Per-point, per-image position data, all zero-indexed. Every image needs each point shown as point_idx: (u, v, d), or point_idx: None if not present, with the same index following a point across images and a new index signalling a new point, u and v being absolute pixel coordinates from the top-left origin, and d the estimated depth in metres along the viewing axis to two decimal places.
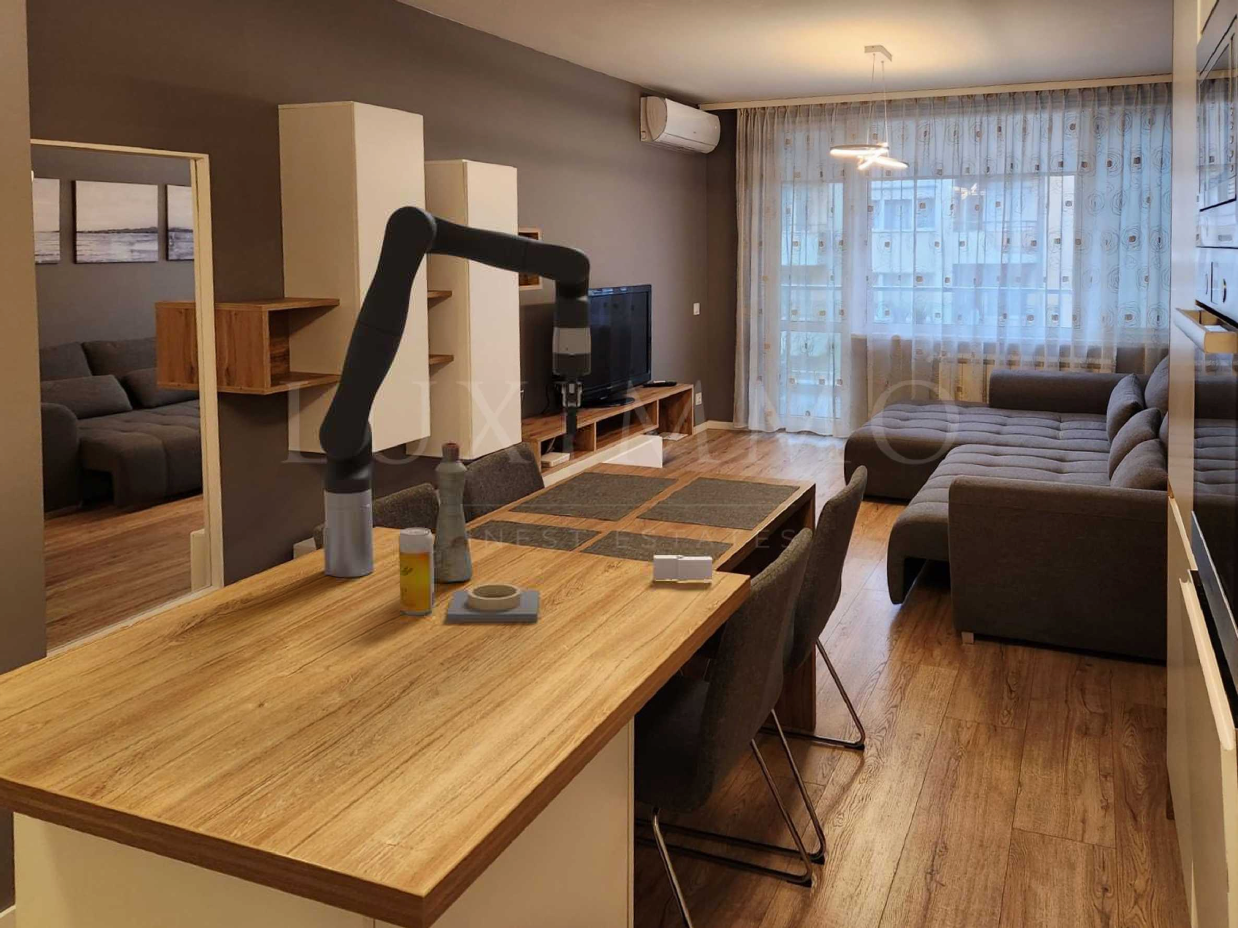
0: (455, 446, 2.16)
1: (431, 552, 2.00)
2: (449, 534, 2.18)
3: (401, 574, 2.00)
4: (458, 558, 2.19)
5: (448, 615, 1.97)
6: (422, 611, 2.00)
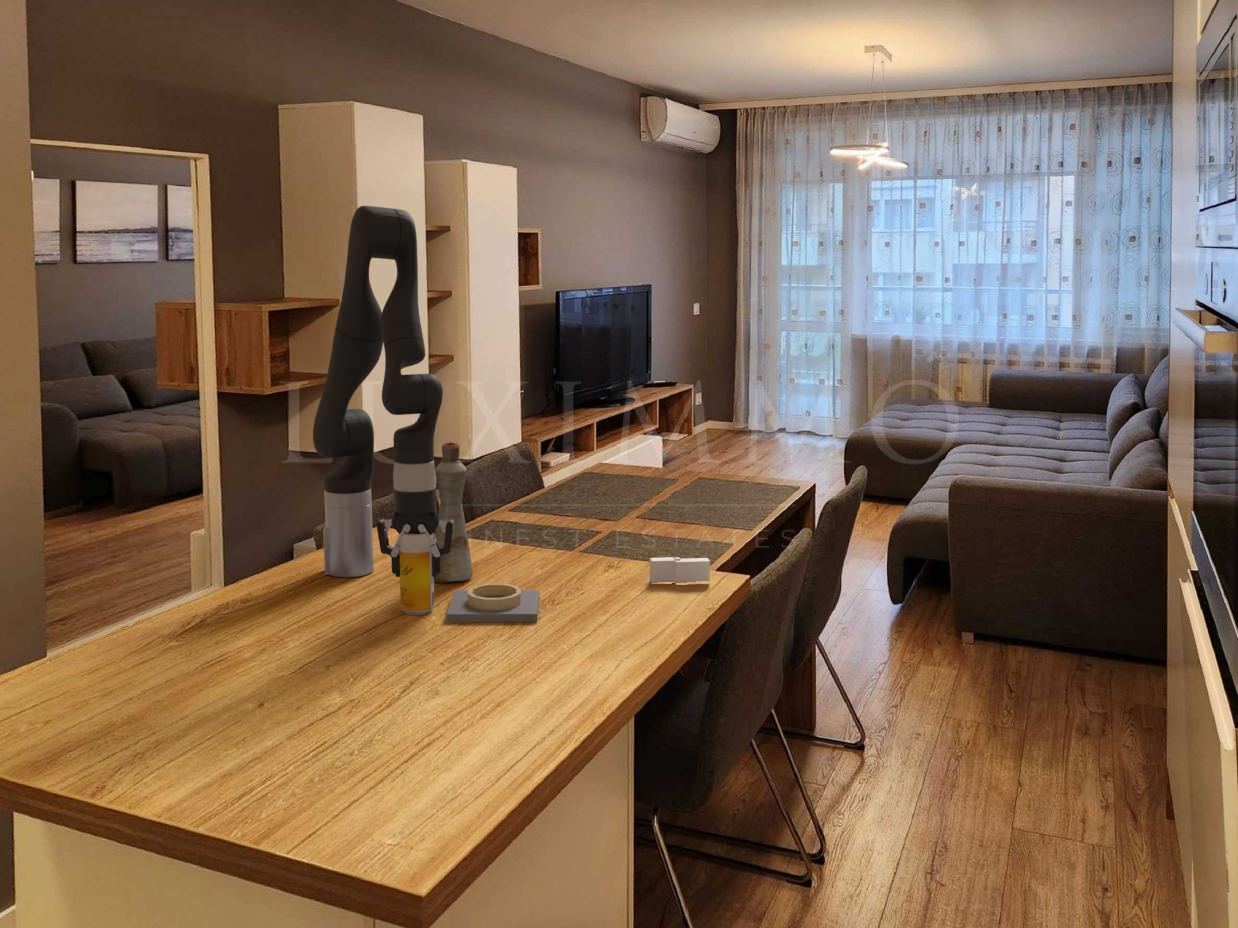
0: (455, 446, 2.16)
1: (431, 552, 2.00)
2: None
3: (401, 574, 2.00)
4: (458, 558, 2.19)
5: (448, 615, 1.97)
6: (422, 611, 2.00)
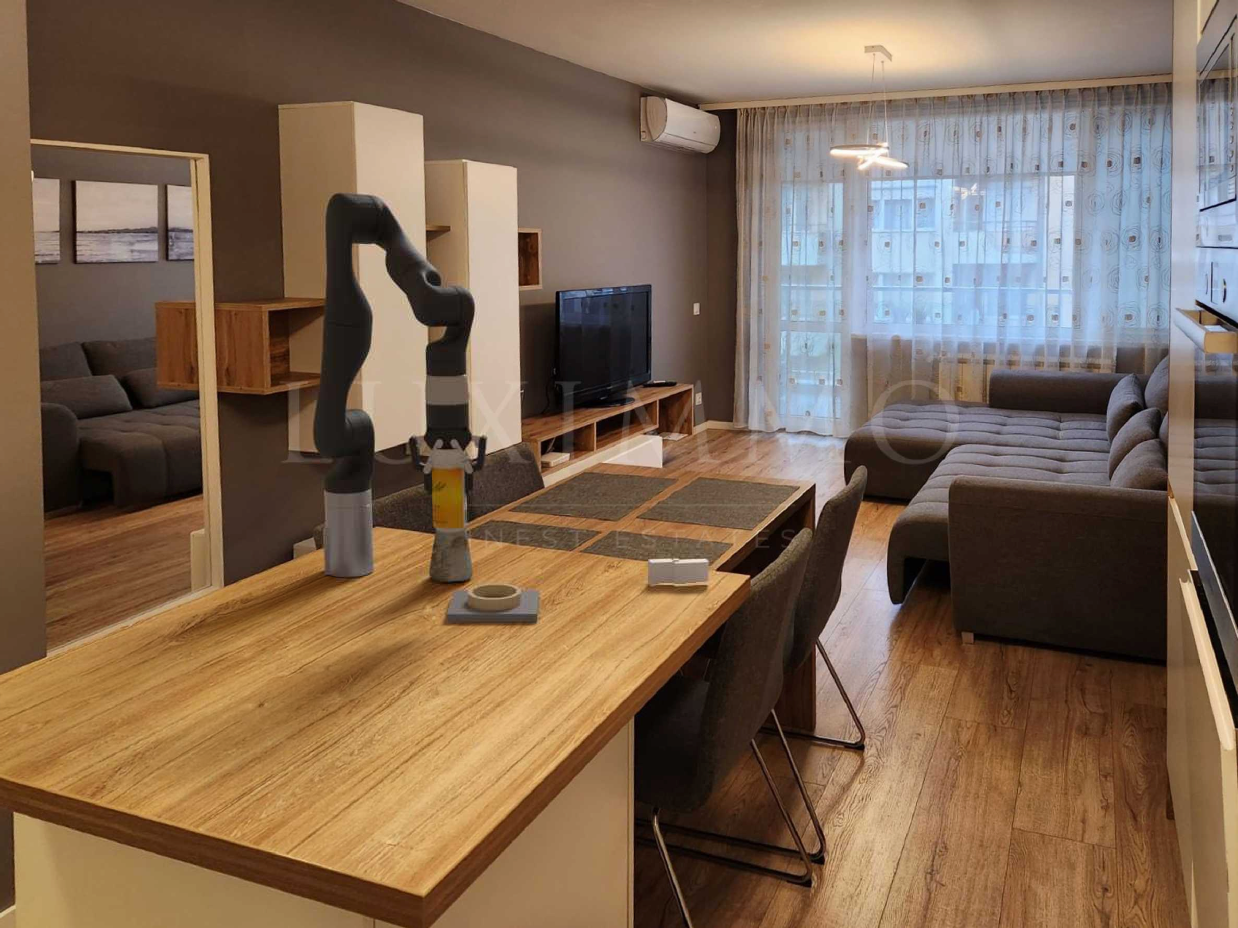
0: None
1: (464, 468, 1.97)
2: (449, 534, 2.18)
3: (433, 491, 1.97)
4: (458, 558, 2.19)
5: (448, 615, 1.97)
6: (455, 529, 1.97)
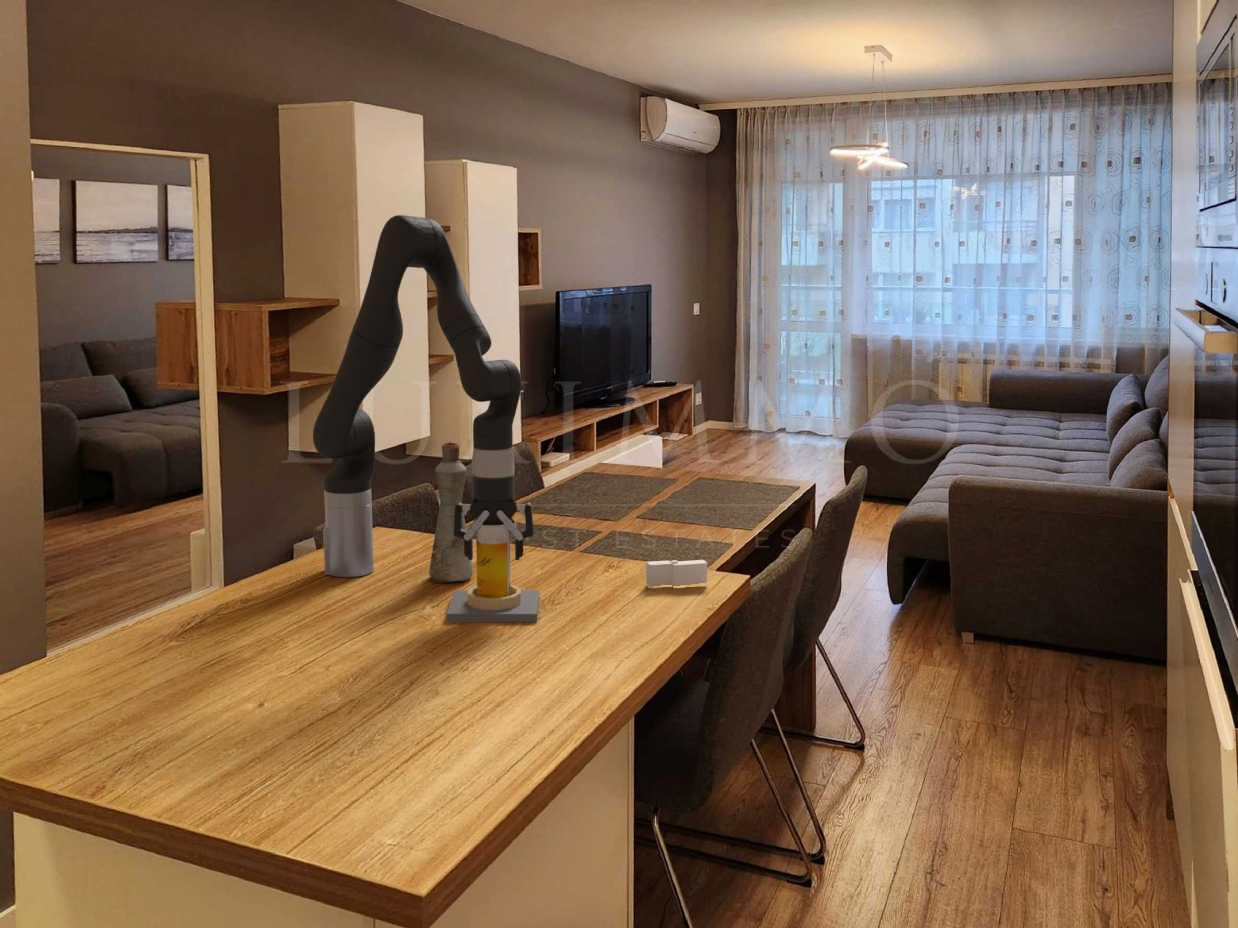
0: (455, 446, 2.16)
1: (508, 543, 2.01)
2: (449, 534, 2.18)
3: (478, 565, 2.01)
4: (458, 558, 2.19)
5: (448, 615, 1.97)
6: None
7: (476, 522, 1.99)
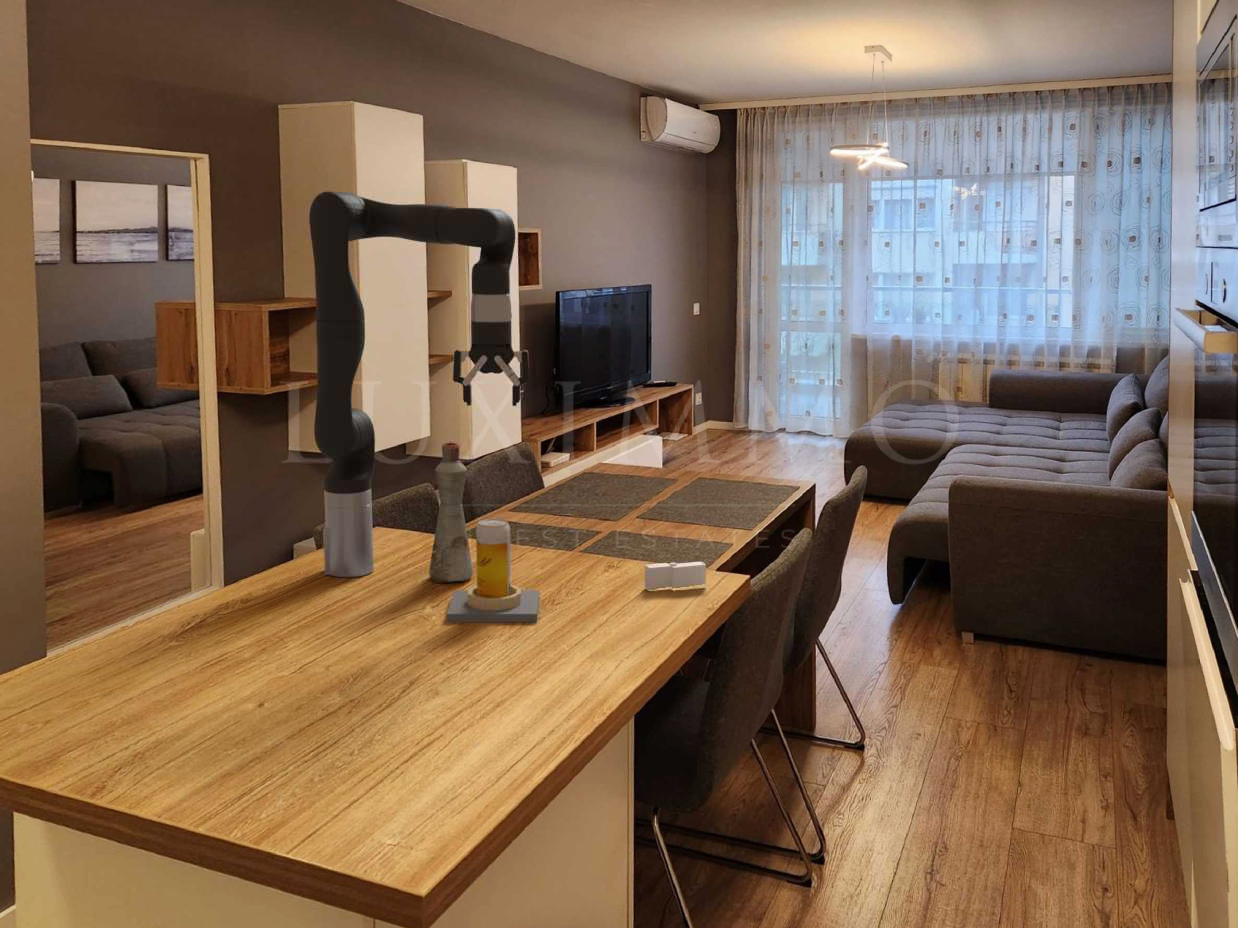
0: (455, 446, 2.16)
1: (508, 543, 2.01)
2: (449, 534, 2.18)
3: (478, 565, 2.01)
4: (458, 558, 2.19)
5: (448, 615, 1.97)
6: None
7: (474, 367, 2.06)
